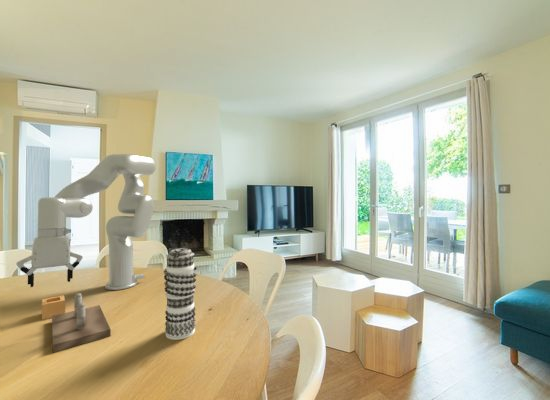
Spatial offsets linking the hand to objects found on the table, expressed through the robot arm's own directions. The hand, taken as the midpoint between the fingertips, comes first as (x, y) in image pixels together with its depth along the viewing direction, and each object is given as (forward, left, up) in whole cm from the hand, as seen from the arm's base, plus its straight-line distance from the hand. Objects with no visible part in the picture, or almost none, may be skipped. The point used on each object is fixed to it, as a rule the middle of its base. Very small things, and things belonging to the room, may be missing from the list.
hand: (50, 283), depth 92 cm
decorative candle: (-30, +40, -11) cm, 51 cm away
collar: (-1, 0, -11) cm, 11 cm away
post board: (-7, +18, -11) cm, 22 cm away
